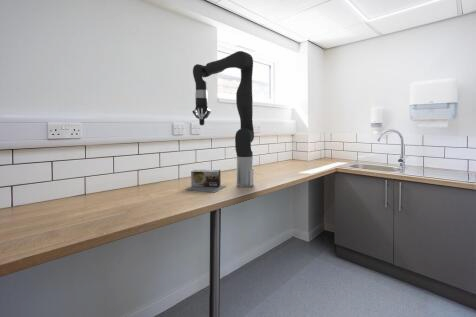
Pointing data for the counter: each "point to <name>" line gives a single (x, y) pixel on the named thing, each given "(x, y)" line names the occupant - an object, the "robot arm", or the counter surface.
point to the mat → (206, 189)
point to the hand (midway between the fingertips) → (201, 125)
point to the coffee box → (205, 178)
